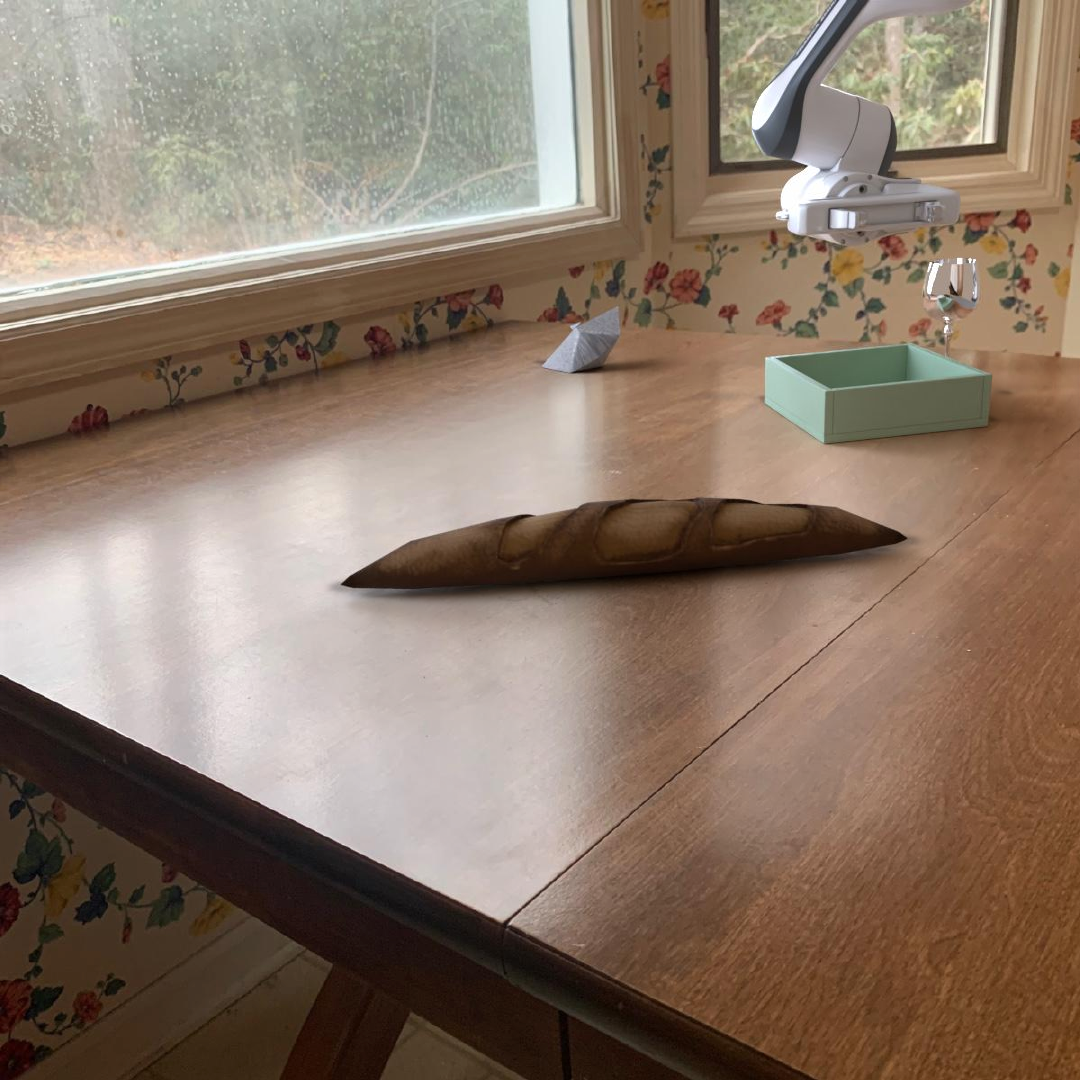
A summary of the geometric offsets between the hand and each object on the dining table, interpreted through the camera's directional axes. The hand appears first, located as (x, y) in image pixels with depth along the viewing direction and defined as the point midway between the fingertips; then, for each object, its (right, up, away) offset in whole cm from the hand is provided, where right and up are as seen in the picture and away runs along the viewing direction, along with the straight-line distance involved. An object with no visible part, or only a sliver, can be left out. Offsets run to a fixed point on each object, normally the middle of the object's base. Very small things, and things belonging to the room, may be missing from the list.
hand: (900, 217), depth 123 cm
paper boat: (-35, -15, +11) cm, 39 cm away
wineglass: (+3, -19, -6) cm, 20 cm away
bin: (-9, -24, -18) cm, 32 cm away
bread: (-35, -39, -51) cm, 73 cm away
